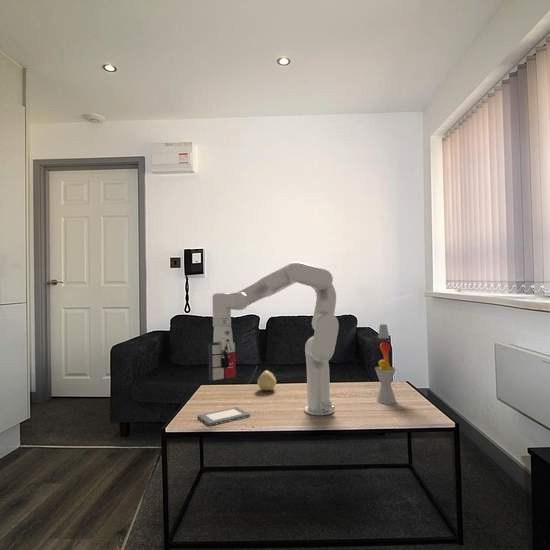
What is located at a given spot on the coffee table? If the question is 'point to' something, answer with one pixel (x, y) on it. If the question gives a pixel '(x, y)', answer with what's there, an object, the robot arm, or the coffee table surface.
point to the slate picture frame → (223, 415)
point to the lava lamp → (385, 370)
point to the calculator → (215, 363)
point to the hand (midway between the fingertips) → (222, 366)
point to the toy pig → (266, 381)
